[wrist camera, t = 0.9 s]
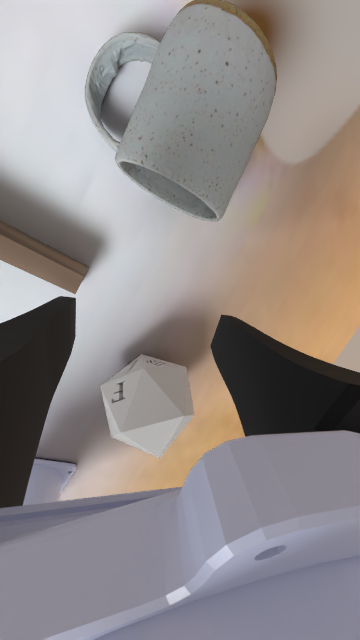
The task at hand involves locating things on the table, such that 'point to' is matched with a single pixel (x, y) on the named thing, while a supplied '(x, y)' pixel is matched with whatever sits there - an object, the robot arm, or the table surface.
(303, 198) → the table surface
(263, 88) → the ceramic mug
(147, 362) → the die
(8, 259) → the wooden tray
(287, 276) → the table surface
